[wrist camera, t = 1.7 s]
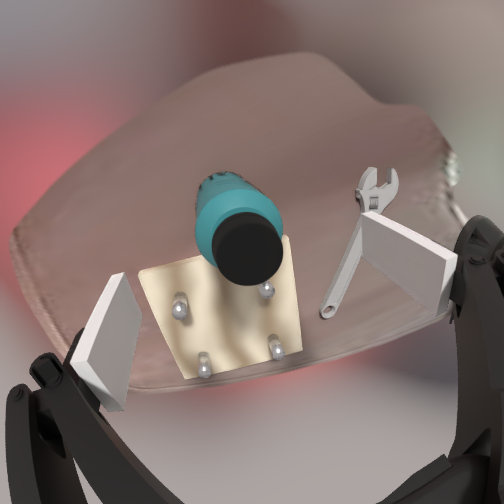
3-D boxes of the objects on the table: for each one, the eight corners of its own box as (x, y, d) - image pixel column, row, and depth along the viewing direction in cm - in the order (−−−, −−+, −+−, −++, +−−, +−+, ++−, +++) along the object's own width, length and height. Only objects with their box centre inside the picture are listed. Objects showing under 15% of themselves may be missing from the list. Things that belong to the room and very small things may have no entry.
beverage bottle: (233, 229, 35) (273, 323, 17) (186, 206, 33) (172, 284, 15) (258, 184, 34) (330, 233, 16) (210, 159, 32) (227, 176, 13)
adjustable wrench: (328, 314, 44) (332, 320, 43) (296, 306, 42) (300, 313, 41) (396, 175, 37) (403, 177, 36) (367, 156, 35) (374, 157, 34)
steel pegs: (266, 269, 37) (274, 284, 33) (279, 341, 42) (286, 357, 38) (172, 293, 35) (170, 309, 32) (199, 360, 40) (200, 379, 37)
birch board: (285, 234, 37) (288, 238, 36) (299, 344, 45) (302, 350, 43) (140, 270, 35) (138, 275, 34) (185, 373, 43) (185, 379, 42)
